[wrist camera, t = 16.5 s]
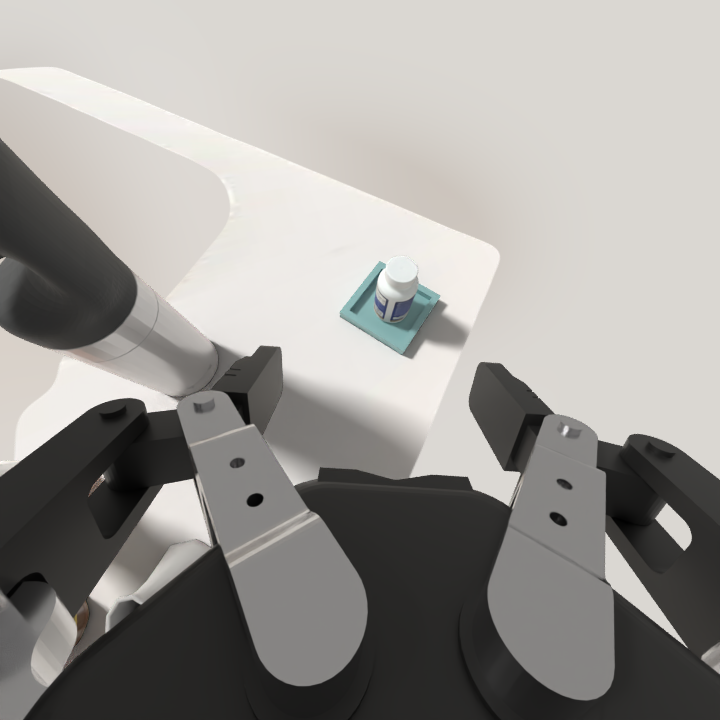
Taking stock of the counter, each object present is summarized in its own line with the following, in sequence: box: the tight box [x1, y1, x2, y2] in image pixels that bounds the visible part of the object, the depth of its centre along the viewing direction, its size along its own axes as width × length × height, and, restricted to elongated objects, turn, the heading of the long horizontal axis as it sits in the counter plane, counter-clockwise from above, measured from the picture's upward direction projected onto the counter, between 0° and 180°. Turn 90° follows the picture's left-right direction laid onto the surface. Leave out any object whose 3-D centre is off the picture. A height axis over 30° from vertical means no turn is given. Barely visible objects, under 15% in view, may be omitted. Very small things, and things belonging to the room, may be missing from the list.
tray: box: [340, 261, 440, 355], centre depth 45 cm, size 11×11×2 cm
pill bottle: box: [374, 256, 419, 323], centre depth 41 cm, size 5×5×10 cm
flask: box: [105, 539, 211, 633], centre depth 29 cm, size 7×7×10 cm
